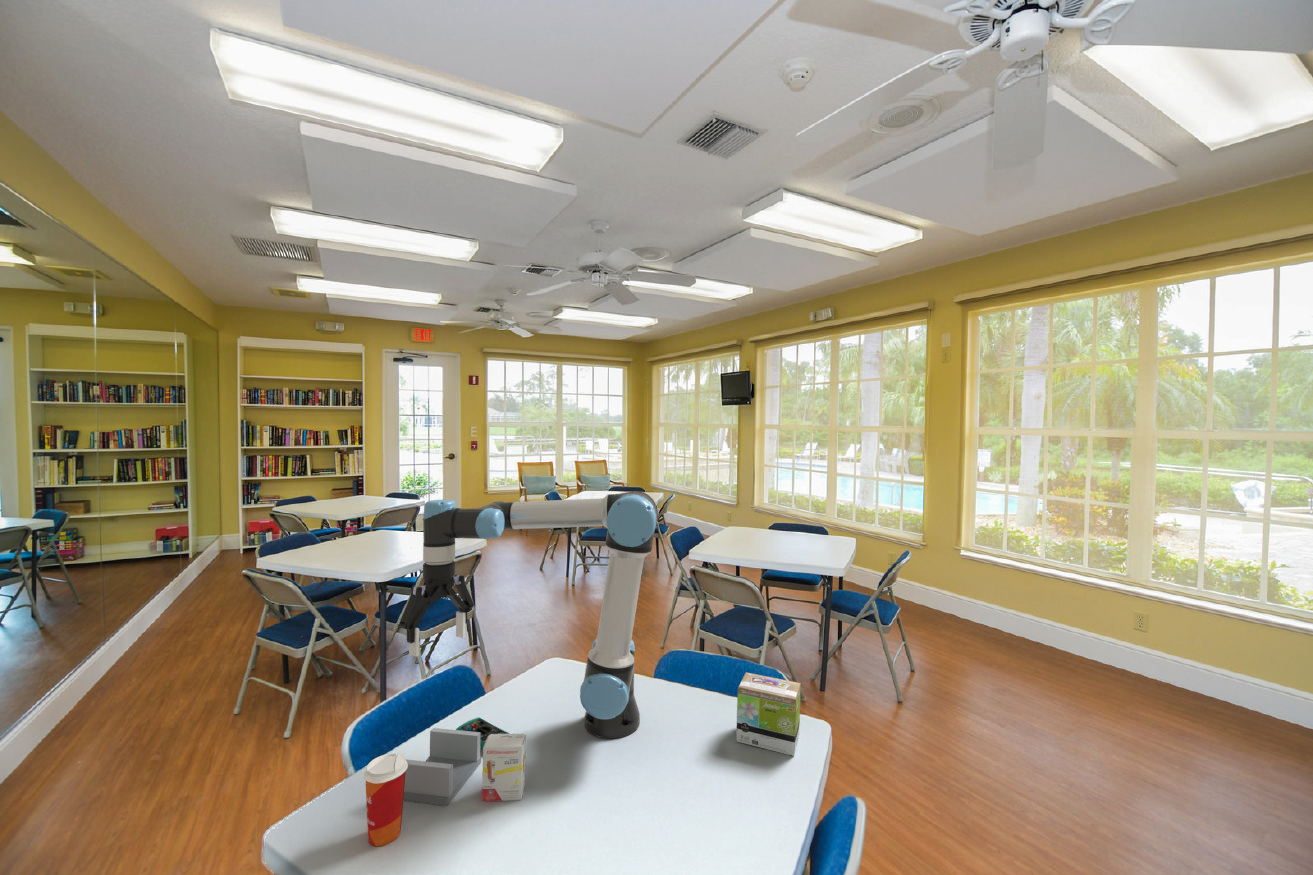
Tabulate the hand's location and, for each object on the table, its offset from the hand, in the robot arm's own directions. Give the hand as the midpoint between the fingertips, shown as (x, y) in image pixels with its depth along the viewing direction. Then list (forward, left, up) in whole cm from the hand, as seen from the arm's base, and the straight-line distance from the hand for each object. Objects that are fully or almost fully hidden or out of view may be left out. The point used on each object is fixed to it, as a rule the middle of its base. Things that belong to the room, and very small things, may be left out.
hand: (438, 645), depth 132 cm
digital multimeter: (-10, -5, -26) cm, 28 cm away
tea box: (-83, -17, -25) cm, 89 cm away
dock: (-8, +12, -25) cm, 29 cm away
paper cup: (-7, +30, -25) cm, 39 cm away
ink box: (-24, +14, -25) cm, 38 cm away
